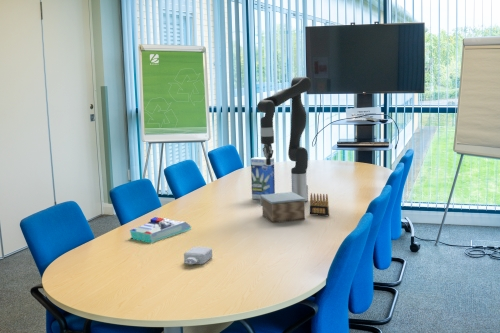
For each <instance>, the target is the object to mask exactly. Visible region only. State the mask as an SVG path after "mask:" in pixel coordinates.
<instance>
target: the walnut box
mask: <svg viewBox="0 0 500 333" xmlns="http://www.w3.org/2000/svg"><path fill="white" fill-rule="evenodd" d="M305 206H306V205H305V201H295V202H285V203H275V204H271V203H269V202H268V201H266V200H265V199H263V198H262V206H261V207H262V208H261V209H262V210H261V211H262V216H263V217H265V218H266V219H267V220H268V221H269V222H271V223H273V224H275V223H283V222H292V221H301V220H306V211H305V209H306V208H305Z"/></svg>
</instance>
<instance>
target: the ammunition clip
mask: <svg viewBox="0 0 500 333" xmlns="http://www.w3.org/2000/svg"><path fill="white" fill-rule="evenodd" d="M309 199H310V200H309V215H310V214H318V215H317V216H323V215H328V216H329V215H330V208H329V196H328V193H326V195H325V193H323V195H322V193H320V194H319V193H314V194H313V192H311V193H310V198H309Z"/></svg>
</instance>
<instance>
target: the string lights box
mask: <svg viewBox="0 0 500 333" xmlns="http://www.w3.org/2000/svg"><path fill="white" fill-rule="evenodd" d="M250 171H251V199H252V200H253V199H254V200H260V195H266V194H276V190H275V189H276V188H275V184H276V183H275V182H276V181H275V180H276V179H275V157H272V158H271V165H266V158H265V156H264V157H263V156H258V157H257V156H255V157H251V158H250Z"/></svg>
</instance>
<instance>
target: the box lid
mask: <svg viewBox="0 0 500 333" xmlns="http://www.w3.org/2000/svg"><path fill="white" fill-rule="evenodd" d="M262 198H263V199H265V200H266V201H268V202H269V203H271V204H275V203H285V202H295V201H304V202H306V201H305V198H303V197H301V196H299V195H297V194H296V193H294V192H292V191H288V192H280V193H279V192H278V193H276V192H275V194H266V195H260V199H259V201H260V206H261V207H262Z"/></svg>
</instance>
